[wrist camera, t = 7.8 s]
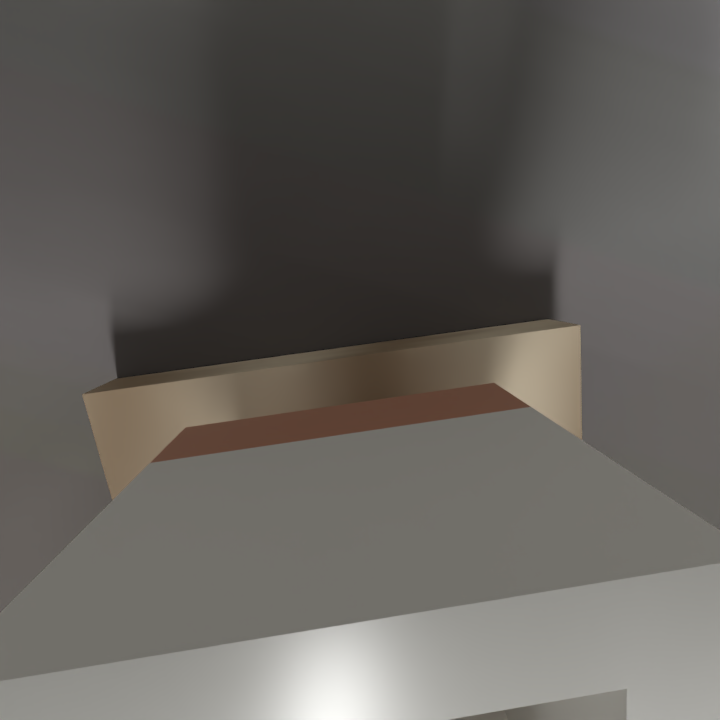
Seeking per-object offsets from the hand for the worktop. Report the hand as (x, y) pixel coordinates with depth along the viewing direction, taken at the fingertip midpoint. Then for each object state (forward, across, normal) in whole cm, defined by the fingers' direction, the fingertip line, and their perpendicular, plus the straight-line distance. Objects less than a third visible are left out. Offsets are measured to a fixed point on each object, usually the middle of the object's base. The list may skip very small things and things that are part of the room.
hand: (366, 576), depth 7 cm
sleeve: (+1, 0, 0) cm, 1 cm away
